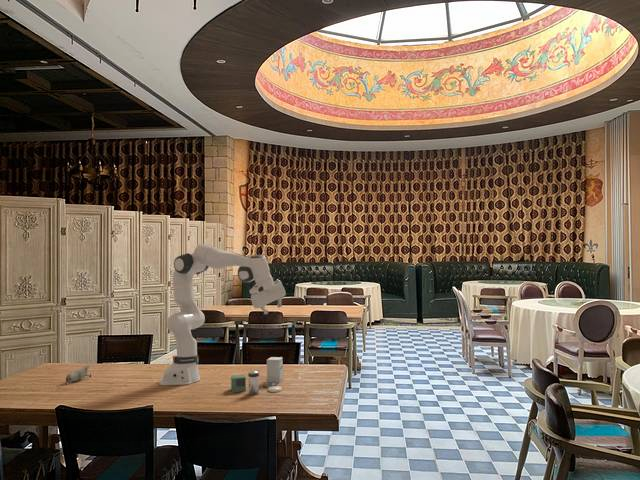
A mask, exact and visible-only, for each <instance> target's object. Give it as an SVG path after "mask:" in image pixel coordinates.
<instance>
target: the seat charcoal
mask: <svg viewBox="0 0 640 480" xmlns="http://www.w3.org/2000/svg"><path fill="white" fill-rule="evenodd" d="M272 386H278V383H276V382H267V381H266V382H264V383H263V388H267V389H268V388H269V387H272Z"/></svg>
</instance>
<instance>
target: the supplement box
mask: <svg viewBox="0 0 640 480" xmlns="http://www.w3.org/2000/svg"><path fill="white" fill-rule="evenodd" d="M283 365H284V364H283V356H280V357H279V356H278V357H277V356H271V357H269V358H267V359H266V383H267V382H276V383H277V384H280V383H281V382H282V381H283V380H284V367H283Z"/></svg>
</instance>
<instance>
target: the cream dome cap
mask: <svg viewBox="0 0 640 480" xmlns="http://www.w3.org/2000/svg"><path fill="white" fill-rule="evenodd" d="M282 388H283V387H281V386H280V385H277V386H272V387H269V388H267V392H269V393H279V392H282V391H283V390H282Z"/></svg>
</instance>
